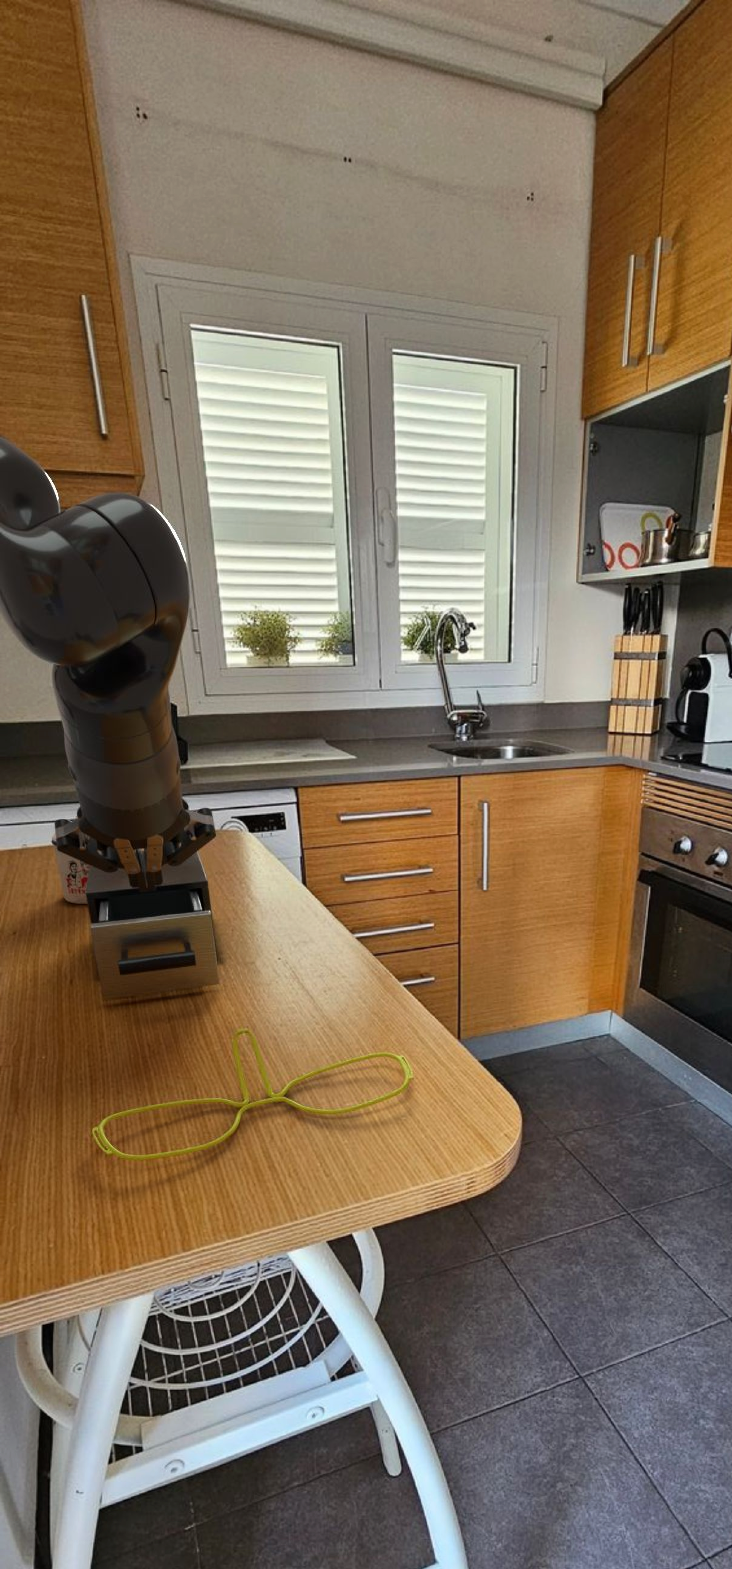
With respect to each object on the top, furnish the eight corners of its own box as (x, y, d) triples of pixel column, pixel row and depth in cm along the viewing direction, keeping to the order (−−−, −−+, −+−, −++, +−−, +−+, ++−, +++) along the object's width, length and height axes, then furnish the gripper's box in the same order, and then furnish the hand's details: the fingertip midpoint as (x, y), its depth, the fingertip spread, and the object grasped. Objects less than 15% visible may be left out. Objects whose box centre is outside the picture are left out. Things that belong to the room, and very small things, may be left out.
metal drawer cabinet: (217, 961, 97) (207, 880, 93) (100, 976, 93) (85, 893, 89) (206, 920, 110) (197, 849, 107) (103, 932, 106) (90, 858, 103)
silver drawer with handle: (224, 1000, 84) (215, 927, 81) (102, 1018, 80) (88, 942, 77) (207, 940, 101) (199, 877, 98) (106, 952, 97) (94, 887, 94)
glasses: (101, 1182, 58) (89, 1123, 56) (89, 1115, 66) (78, 1061, 64) (430, 1096, 68) (429, 1044, 66) (384, 1047, 76) (382, 999, 74)
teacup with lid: (62, 908, 116) (46, 824, 111) (62, 891, 123) (47, 812, 119) (153, 897, 120) (141, 816, 116) (148, 881, 128) (136, 805, 123)
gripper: (210, 719, 65) (214, 841, 80) (22, 728, 61) (64, 855, 76) (226, 800, 62) (226, 910, 78) (30, 814, 58) (72, 928, 73)
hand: (146, 882), depth 77 cm, fingers closed
